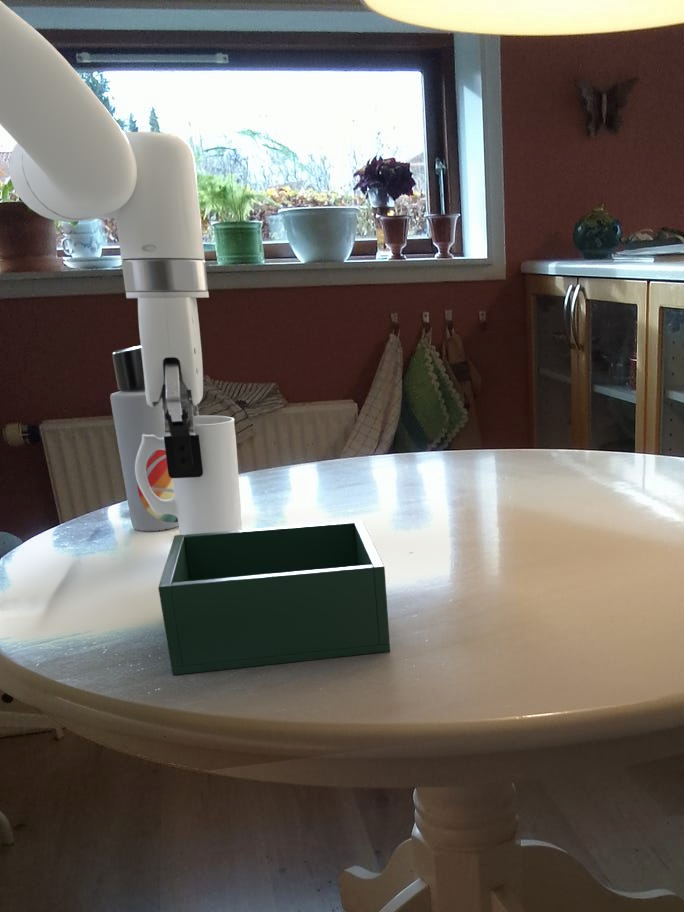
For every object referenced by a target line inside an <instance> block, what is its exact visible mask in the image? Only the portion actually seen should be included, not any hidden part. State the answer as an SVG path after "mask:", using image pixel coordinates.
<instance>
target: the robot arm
mask: <svg viewBox="0 0 684 912" xmlns="http://www.w3.org/2000/svg"><path fill="white" fill-rule="evenodd" d="M0 126H1V127H2V128H3V129H4V130H5V131H6V132H7V133H8V134H9V136H10V137H12V138H13V140H14V141H15V142H16V144H15V146H13V148H12V151H11V154H10V156H9V162H8V170H9V172H8V173H9V177H10V181H11V184H12V187H13V189H14V191H15V193H16V194H17V196H18V197H19V199H20V200H21V201H22V202H23V203H24V204H25V205H26V206H27V207H28V208H29V209H30V210H32V211H33V212H35V213H36V214H38V215H39V216H41V217H43V218H46V219H48V220H52V221H55V222H62V223H63V222H64V223H73V222H82V221H91V220H101V219H114V220H115V223H116V230H117V237H118V247H119V252H120V259H121V268H122V276H123V283H124V290H125V297H126V299H137V317H138V319H137V320H138V331H139V332H138V333H139V341H140V342H139V343H140V346H141V353H142V362H143V372H144V382H145V393H146V402H147V404H148V405H149V406H150V407H152V408H155V407H156V406H157V405H158V404H159V403H160V402H161V399H162V404H163V405H162V407H163V417H164V429H165V436H164V443H165V451H166V459H167V466H168V474H169V477H170V478H191V477H201V476H202V475H203V467H202V459H201V450H200V441H199V435H196V432H195V420H194V416H201V414H200V407H199V404H200V403H201V401H202V400H203V397H204V368H203V367H204V366H203V352H202V341H201V331H200V320H199V312H198V302H197V298H198V299H199V298H201V299H203V298H205V299H206V298H210V295H209V294H210V293H209V284H208V283H209V282H208V274H207V265H206V261H205V260H206V256H205V246H204V239H203V229H202V217H201V211H200V210H201V209H200V200H199V198H200V197H199V190H198V180H197V170H196V169H197V168H196V162H195V156H194V151H193V149H192V147H191V145H190V144H189V143H188V141H187V140H185V139H184V138H183V137H180V136H178V135H175V134H170V133H164V132H157V131H129V132H128V131H127V132H124V131H123V130H122V128H121V127H120V125H119V123H118V122H117V120H116V119H115V118H114V116H113V115H112V114H111V113H110V111H109V110H108V109H107V107H106V106H105V105H104V104H103V102H102V101H101V100H100V99H99V98H98V96H97V95H96V94H95V93H94V91H93V90H92V88H90V86H89V85H88V84H87V83H86V82H85V80H84V79H83V78H82V77H81V76H80V74H79V73H78V72H77V71H76V70H75V68H74V67H73V66H72V65H71V64H70V62H68V60H67V59H66V58H65V57H64V56H63V55H62V54H61V53H60V52H59V50H57V48H56V47H55V46H54V45H52V44H51V42H49V40H47V38H45V37H44V36H43V35H42V34H41V33H39V31H38V30H36V29H35V28H34V27H33V25H30V24H29V23H28V22H27V21H26V20H24V19H23V18H22V17H21V16H20V15H18V14H17V13H16V12H15V11H14V10H12V9H11V8H9V6H8V5H6V4H5V3H4V2H3V1H2V0H0ZM187 419H188V420H187Z"/></svg>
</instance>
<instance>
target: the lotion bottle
mask: <svg viewBox="0 0 684 912" xmlns="http://www.w3.org/2000/svg"><path fill="white" fill-rule="evenodd" d="M111 355H112V356H111V357H112V361H113V368H114V374H115V379H116V384H117V389H118V391H116V392H113V393H110V396H109V397H110V405H111V411H112V417H113V418H112V419H113V423H114V429H115V435H116V440H117V446H118V447H117V448H118V452H119V458H120V463H121V465H120V466H121V470H122V476H123V477H122V478H123V482H124V488H125V494H126V500H127V505H128V512H129V517H130V523H131V526H132V529H134V530H135V529H136V530H135V531H139V530H140V531H139V532H158V531H159V530H160V531H166V530H165V529H167V530H172V529H174V528H177V527H179V523H178V518H177V517H176V516H174V515H171V514H162V515H156V514H155V513H154V512H153V510H152V509H151V507H150V505H149V504H148V502H147V500H146V499H145V497H144V495H143V493H142V492H141V490H140V488H139V485H138V482H137V479H136V474H135V461H136V457H137V453H138V450H139V447H140V444H141V441H142V435H143V434H146V435H155V436H156V437H158V438H163V437H164V436H165V429H164V417H163V407H162V405H163V404H162V399H161V402H160V403H159V404H158V405H157V406H156V407H155V408H152V407H150V406H149V405H148V404H147V402H146V393H145V382H144V372H143V362H142V353H141V345H137V346H132V347H128V348H120V349H116V350H115V351H113V352H112V354H111ZM146 475H147V479H148V482H149V485H150V487H151V489H152V491H153V492H154V493H155V495H156V496H157V497H159V498H160V499H162V500H169V499H172V498H173V497H174V487H173V480H172V478H170V477H169V474H168V466H167V459H166V451H165V450H156V451H154V452H153V453H152V454H151V455H150V456H149V458H148V461H147V464H146ZM160 531H159V532H160Z"/></svg>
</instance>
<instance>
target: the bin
mask: <svg viewBox="0 0 684 912" xmlns="http://www.w3.org/2000/svg"><path fill="white" fill-rule="evenodd" d="M386 582H387V581H386V569H385V565H384V563H383V561H382V559H381V557H380V555H379V552H378V551H377V548H376V546H375V544H374V542H373V540H372V538H371V536H370V534H369V531H368V530H367V528H366V525H365V523H364V521H363V520H354V521H353V520H348V521H339V522H338V521H337V522H336V521H335V522H324V523H313V524H301V525H289V526H275V527H264V528H263V527H262V528H261V527H260V528H252V529H249V528H248V529H242V530H236V531H224V532H212V533H199V534H187V535H180V534H176V535H174V536H173V540H172V543H171V545H170V550H169V551H168V555H167V559H166V562H165V565H164V568H163V572H162V574H161V578H160V580H159V584H158V586H157V588H158V594H159V601H160V606H161V607H160V608H161V613H162V619H163V624H164V631H165V632H164V633H165V638H166V644H167V651H168V655H169V663H170V667H171V669H170V670H171V674H172V676H178V675H187V674H195V673H196V674H197V673H204V672H205V673H206V672H213V671H222V670H223V671H224V670H233V669H242V668H251V667H260V666H268V665H269V666H270V665H277V664H286V663H296V662H305V661H315V660H322V659H323V660H325V659H333V658H340V657H341V658H342V657H348V656H349V657H352V656H360V655H361V656H362V655H368V654H370V655H371V654H378V653H385V652H386V653H389V652H390V651H391V645H390V643H391V642H390V641H391V640H390V628H389V626H390V625H389V611H388V598H387V597H388V596H387V583H386Z"/></svg>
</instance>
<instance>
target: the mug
mask: <svg viewBox="0 0 684 912" xmlns="http://www.w3.org/2000/svg"><path fill="white" fill-rule="evenodd" d="M187 420H188V419H187ZM194 420H195V432H196V435H199V441H200V450H201V459H202V467H203V475H202V476H201V477H191V478H172V480H173V487H174V497H173V498H172V499H169V500H162V499H160V498H159V497H157V496H156V495H155V493H154V492H153V491H152V489H151V487H150V485H149V482H148V479H147V475H146V464H147V461H148V458H149V456H150V455H151V454H152V453H153V452H154V451H156V450H165V443H164V437H163V438H158V437H156V436H155V435H146V434H143V435H142V441H141V444H140V447H139V450H138V453H137V457H136V461H135V474H136V479H137V482H138V485H139V488H140V490H141V492H142V493H143V495H144V497H145V499H146V500H147V502H148V504H149V505H150V507H151V509H152V510H153V512H154V513H155V514H156V515H162V514H171V515H174V516H176V517H177V518H178V523H179V526H178V529H179V535H187V534H199V533H212V532H224V531H236V530H243V523H242V522H243V521H242V505H241V494H240V493H241V492H240V480H239V479H240V478H239V477H240V476H239V464H238V452H237V451H238V449H237V437H236V428H235V418H234V417H231V416H226V415H200V416H194Z"/></svg>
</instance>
